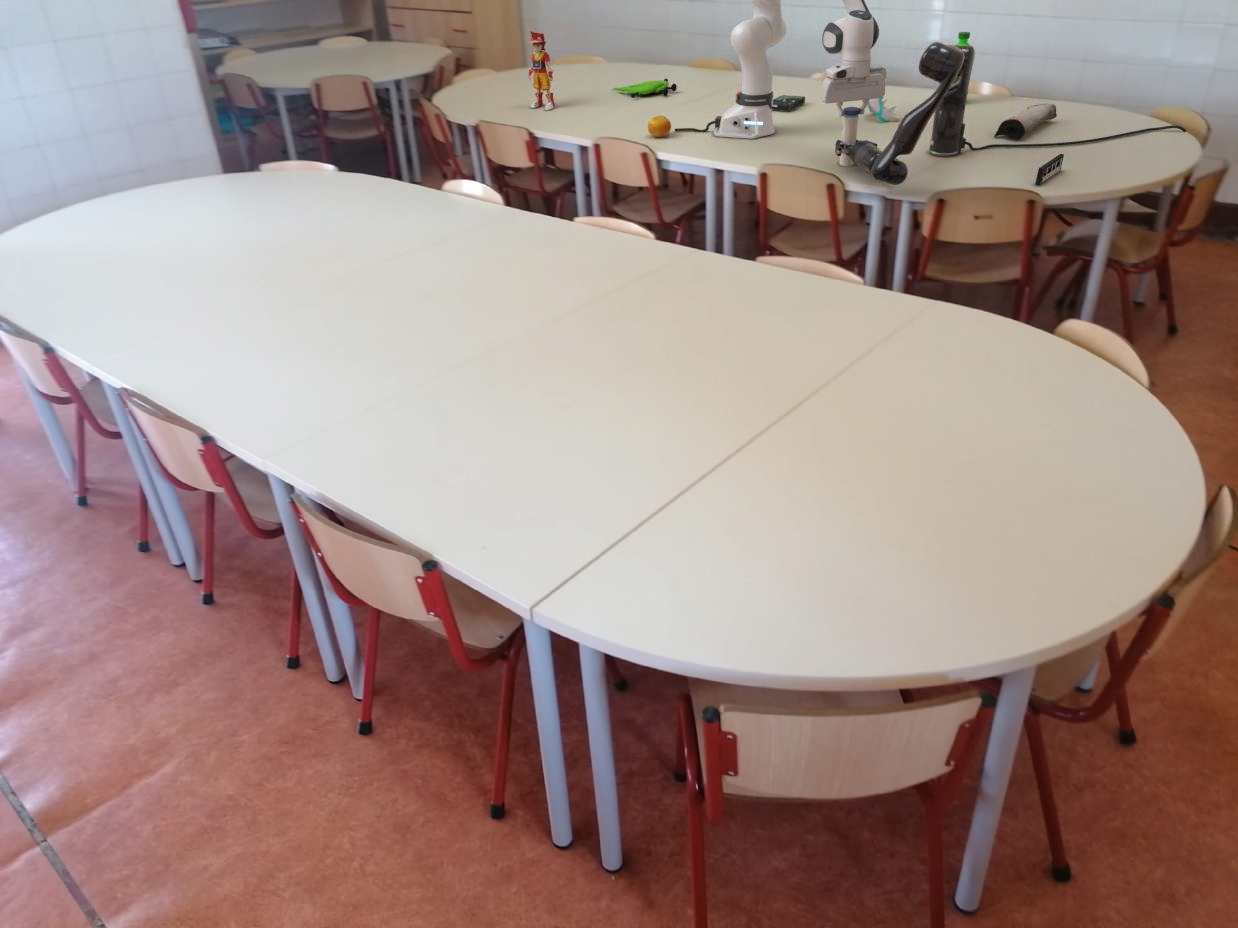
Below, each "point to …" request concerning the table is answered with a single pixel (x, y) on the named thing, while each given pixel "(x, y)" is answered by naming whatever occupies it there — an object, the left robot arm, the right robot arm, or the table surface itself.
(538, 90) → the toy
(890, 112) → the anatomical model
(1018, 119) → the rolled mat
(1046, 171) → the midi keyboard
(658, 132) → the fruit
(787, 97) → the disk drive
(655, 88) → the toy
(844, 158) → the jar
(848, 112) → the lid
